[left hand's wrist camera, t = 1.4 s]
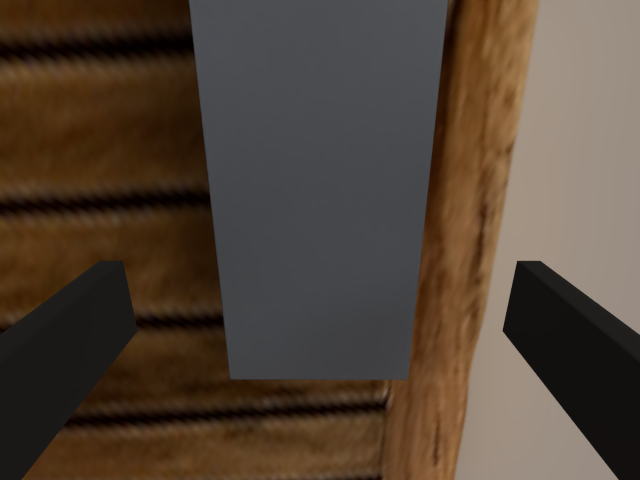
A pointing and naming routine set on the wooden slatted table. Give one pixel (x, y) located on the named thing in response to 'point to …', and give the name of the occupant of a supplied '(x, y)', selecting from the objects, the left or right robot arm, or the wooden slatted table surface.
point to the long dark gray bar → (318, 177)
